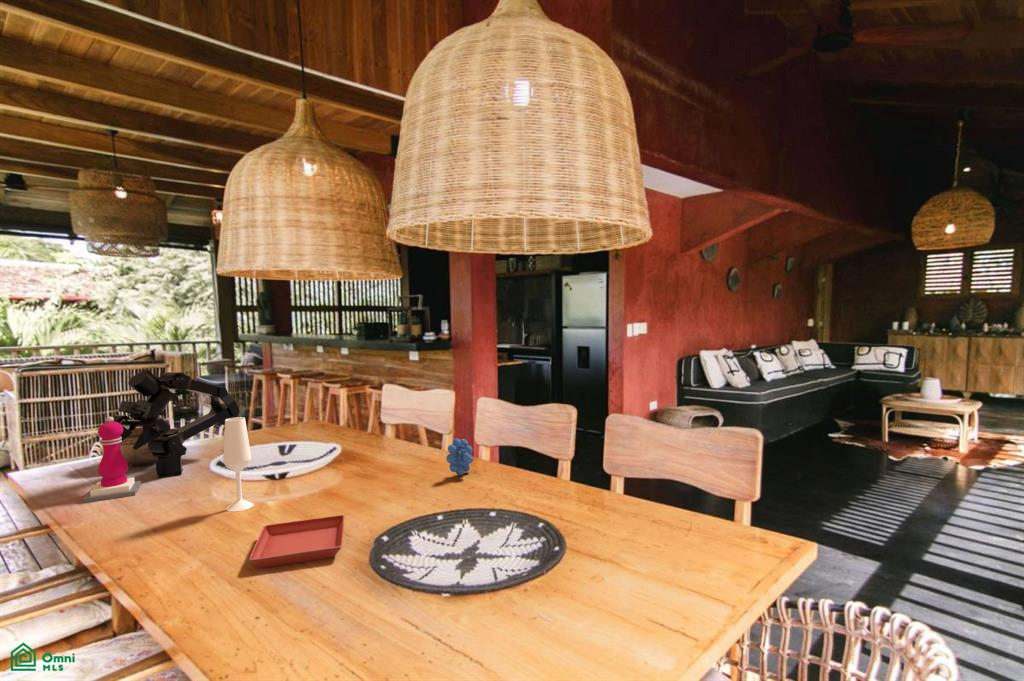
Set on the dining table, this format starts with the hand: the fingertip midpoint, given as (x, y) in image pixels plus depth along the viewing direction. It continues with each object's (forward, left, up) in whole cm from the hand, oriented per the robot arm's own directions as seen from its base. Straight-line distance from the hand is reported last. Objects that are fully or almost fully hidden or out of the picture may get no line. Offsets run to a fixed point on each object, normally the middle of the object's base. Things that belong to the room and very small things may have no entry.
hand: (122, 448), depth 158 cm
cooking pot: (0, -30, -13) cm, 33 cm away
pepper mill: (+2, +2, -10) cm, 10 cm away
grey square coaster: (+3, +3, -13) cm, 13 cm away
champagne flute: (-30, +35, -13) cm, 48 cm away
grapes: (-92, +42, -13) cm, 102 cm away
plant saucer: (-42, +70, -13) cm, 83 cm away
